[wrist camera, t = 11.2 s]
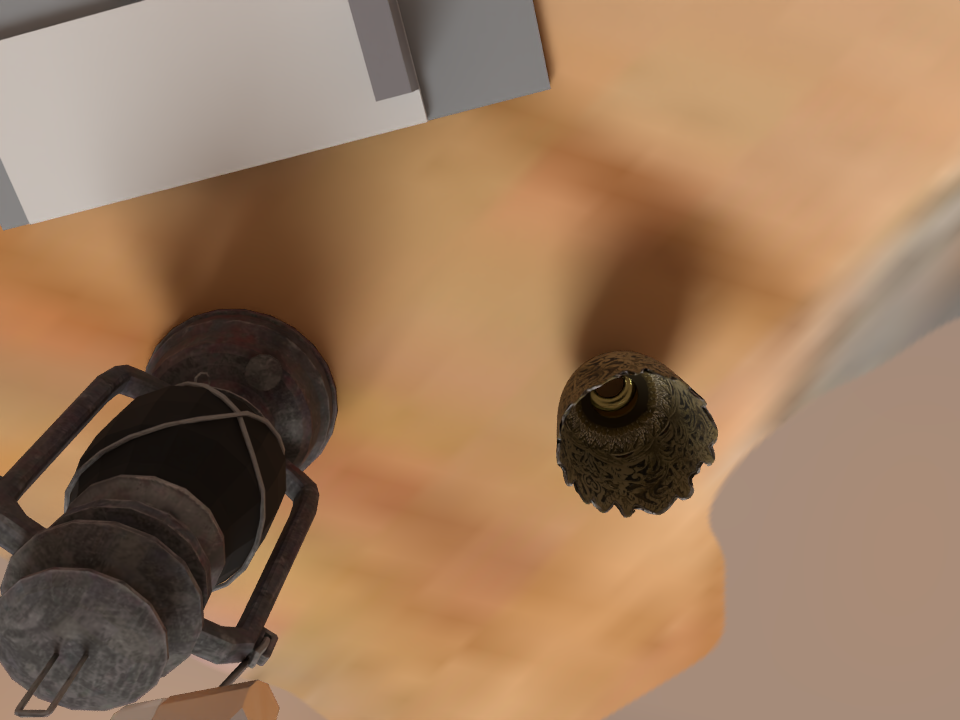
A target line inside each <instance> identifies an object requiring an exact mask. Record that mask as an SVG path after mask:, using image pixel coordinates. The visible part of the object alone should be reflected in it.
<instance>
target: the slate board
mask: <svg viewBox="0 0 960 720" xmlns="http://www.w3.org/2000/svg"><path fill="white" fill-rule="evenodd" d="M141 1H144V0H0V40H3V39H7V38H11V37H14V36H18V35H21V34H25V33H29V32H32V31H36V30H39V29H43V28H47V27H50V26H54V25H57V24H61V23H65V22H68V21H72V20H76V19H79V18H83V17H86V16H90V15H94V14H97V13H101V12H104V11H108V10H112V9H115V8H119V7H122V6H126V5H130V4H133V3H137V2H141ZM397 1H398V5H399V9H400V13H401V17H402V21H403V24H404V28H405V32H406V36H407V40H408V44H409V48H410V52H411V55H412V59H413V63H414V67H415V71H416V75H417V79H418V83H419V86H420V90H421V94H422V98H423V102H424V106H425V110H426V114H427V118H428V120H432V119H436V118H440V117H444V116H448V115H452V114H455V113H459V112H463V111H467V110H471V109H475V108H479V107H483V106H486V105H490V104H494V103H498V102H502V101H506V100H510V99H513V98H517V97H521V96H525V95H529V94H533V93H537V92H541V91H544V90H548V89H551V88H550V83H549V79H548V74H547V69H546V64H545V59H544V54H543V49H542V44H541V39H540V34H539V29H538V24H537V20H536V15H535V10H534V5H533V0H397ZM26 224H30V223H29V221H28V219H27V217H26V214H25V212H24V210H23V208H22V205H21V203H20V201H19V199H18V196H17V194H16V192H15V190H14V188H13V185H12V183H11V181H10V179H9V176H8V174H7V172H6V170H5V167H4V165H3V163H2V161H1V158H0V225H1V227H2V229H3V230H7V229H11V228H15V227H19V226H22V225H26Z"/></svg>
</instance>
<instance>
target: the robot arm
mask: <svg viewBox="0 0 960 720" xmlns="http://www.w3.org/2000/svg"><path fill="white" fill-rule="evenodd" d="M279 709H280V707H279V705H278V703H277V701H276V699H275V697H274V695H273V693H272V690H271V688H270V686H269V684H267V683H265V682H262V681H260V680H254V681H248V682H244V683H238V684H232V685H227V686H222V687H217V688H211V689H206V690H201V691H195V692H190V693H185V694H179V695H174V696H170V697H169V698H161V699H156V700H151V701H146V702H141V703H136V704H131V705H126V706H125V707H123V708H122V709H120V710H119V711H117V712H116V713H114V714H113V716H112V717H111V719H110V720H276V719H277V716H278V713H279Z"/></svg>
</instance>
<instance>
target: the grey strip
mask: <svg viewBox="0 0 960 720" xmlns="http://www.w3.org/2000/svg"><path fill="white" fill-rule="evenodd" d="M425 122H428V118H427V114H426V110H425V106H424V102H423V98H422V94H421V90H420V86H419V83H418V79H417V75H416V71H415V67H414V63H413V59H412V55H411V52H410V48H409V44H408V40H407V36H406V32H405V28H404V24H403V21H402V17H401V13H400V9H399V5H398V1H397V0H144V1H141V2H137V3H133V4H130V5H126V6H122V7H119V8H115V9H112V10H108V11H104V12H101V13H97V14H94V15H90V16H86V17H83V18H79V19H76V20H72V21H68V22H65V23H61V24H57V25H54V26H50V27H47V28H43V29H39V30H36V31H32V32H29V33H25V34H21V35H18V36H14V37H11V38H7V39H3V40H0V158H1V161H2V163H3V165H4V167H5V170H6V172H7V174H8V176H9V179H10V181H11V183H12V185H13V188H14V190H15V192H16V194H17V196H18V199H19V201H20V203H21V205H22V208H23V210H24V212H25V214H26V217H27V219H28V221H29V223H30V224H34V223H38V222H42V221H46V220H50V219H54V218H57V217H61V216H65V215H69V214H73V213H77V212H81V211H85V210H88V209H92V208H96V207H100V206H104V205H108V204H112V203H116V202H119V201H123V200H127V199H131V198H135V197H139V196H143V195H146V194H150V193H154V192H158V191H162V190H166V189H170V188H174V187H177V186H181V185H185V184H189V183H193V182H197V181H201V180H204V179H208V178H212V177H216V176H220V175H224V174H228V173H232V172H235V171H239V170H243V169H247V168H251V167H255V166H259V165H263V164H266V163H270V162H274V161H278V160H282V159H286V158H290V157H293V156H297V155H301V154H305V153H309V152H313V151H317V150H321V149H324V148H328V147H332V146H336V145H340V144H344V143H348V142H351V141H355V140H359V139H363V138H367V137H371V136H375V135H379V134H382V133H386V132H390V131H394V130H398V129H402V128H406V127H409V126H413V125H417V124H421V123H425Z"/></svg>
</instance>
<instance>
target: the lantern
mask: <svg viewBox="0 0 960 720" xmlns="http://www.w3.org/2000/svg"><path fill="white" fill-rule="evenodd" d="M117 394H122V395H125V396H128V397H131V398H134V400H133V401H132V402H131V403H130V404H129V405H128V406H127V407H126V408H125V409H123V410H122V411H121V412H120V413H119V414H118V415H117V416H116V417H115V418H114V419H113V420H112V421H111V422H110V423H109V424H108V425H107V426H106V427H105V428H104V429H103V430H102V431H101V432H100V433H99V434H98V435H97V436H96V437H95V438H94V440H93V441H92V443H91V444H90V446H89V447H88V449H87V450H86V451H85V453H84V454H83V456H82V457H81V459H80V461H79V464H78V467H77V469H76V472H75V474H74V476H73V478H72V480H71V482H70V484H69V485H68V487H67V489H66V491H65V503H64V514H63V515H62V516H61V517H60V518H59V519H58V520H56V521H55V522H54V523H53V524H52V525H51V526H50V527H49V528H47V529H46V528H44V527H43V526H41V525H40V524H38V523H37V522H35V521H34V520H32V519H31V518H29V517H28V516H27V515H26V514H25V513H24V511H23V510H22V508H21V507H20V506H19V504H18V503H17V501H18V500H19V499H20V497H21V496H22V495H23V494H24V493H25V492H26V491H27V489H28V488H29V487H30V486H31V485H32V484H33V483H34V482H35V481H36V480H37V479H38V477H39V476H40V475H41V474H42V473H43V472H44V471H45V470H46V469H47V468H48V466H49V465H50V464H51V463H52V462H53V461H54V460H55V459H56V458H57V457H58V456H59V454H60V453H61V452H62V451H63V450H64V449H65V448H66V447H67V446H68V445H69V444H70V442H71V441H72V440H73V439H74V438H75V437H76V436H77V435H78V434H79V433H80V432H81V430H82V429H83V428H84V427H85V426H86V425H87V424H88V423H89V422H90V421H91V420H92V418H93V417H94V416H95V415H96V414H97V413H98V412H99V411H100V410H101V409H102V408H103V406H104V405H105V404H106V403H107V402H108V401H110V400H111V399H112V398H113V397H114V396H116V395H117ZM337 411H338V410H337V395H336V387H335V384H334V381H333V378H332V375H331V373H330V370H329V367H328V365H327V363H326V362H325V361H324V359H323V358H322V356H321V355H320V353H319V352H318V350H317V349H316V348H315V346H314V345H313V344H312V343H311V342H310V341H309V340H307V339H306V338H305V337H304V336H303V335H302V334H301V333H299V332H298V331H297V330H296V329H295V328H293V327H292V326H290V325H288V324H286V323H284V322H282V321H280V320H278V319H276V318H274V317H272V316H270V315H266V314H262V313H258V312H254V311H250V310H246V309H218V310H214V311H211V312H207V313H203V314H199V315H196V316H193V317H191V318H190V319H188V320H186V321H185V322H183V323H181V324H180V325H178V326H176V327H175V328H173V329H172V330H171V331H170V332H169V333H168V334H167V335H166V337H165V338H164V339H163V340H162V341H161V342H160V343H159V344H158V345H157V346H156V348H155V350H154V352H153V354H152V356H151V359H150V361H149V363H148V365H147V367H146V371H145V372H144V371H142V370H139V369H137V368H134V367H132V366H129V365H121V366H114V367H113V368H111V369H109V370H108V371H106V372H104V373H103V374H101V375H99V376H97V377H96V379H95V380H94V381H93V382H92V383H91V384H90V385H89V386H88V387H87V388H86V389H85V390H84V391H83V392H82V393H81V394H80V396H79V397H78V398H77V399H76V400H75V401H74V402H73V403H72V404H71V405H70V406H69V407H68V408H67V409H66V410H65V411H64V413H63V414H62V415H61V416H60V417H59V418H58V419H57V420H56V421H55V422H54V423H53V424H52V425H51V426H50V427H49V428H48V430H47V431H46V432H45V433H44V434H43V435H42V436H41V437H40V438H39V439H38V440H37V441H36V442H35V443H34V444H33V445H32V447H31V448H30V449H29V450H28V451H27V452H26V453H25V454H24V455H23V456H22V457H21V458H20V459H19V460H18V461H17V462H16V464H15V465H14V466H13V467H12V468H11V469H10V470H9V471H8V472H7V473H6V474H5V475H4V476H3V477H2V476H0V547H2V548H3V549H5V550H6V551H8V552H9V553H11V554H12V557H11V558H10V561H9V564H8V567H7V569H6V572H5V575H4V578H3V581H2V584H1V587H0V589H1V595H2V596H1V597H0V663H1V664H2V666H3V667H4V668H5V670H6V671H7V673H8V674H9V676H10V677H11V679H12V680H14V681H15V682H17V683H18V684H19V685H21V686H22V687H24V688H25V689H26V690H28V692H27V693H26V694H25V696H24V697H23V699H22V700H21V702H20V703H19V704H18V706H17V707H16V709H15V715H17V716H19V717H48V716H49V715H50V714H52V713H53V711H54V710H55V708H56V707H57V705H59V706H62V707H65V708H68V709H71V710H93V711H107V710H110V709H114V708H117V707H121V706H124V705H127V704H131V703H134V702H136V701H137V700H138V699H140V698H141V697H142V696H143V695H145V694H146V693H147V692H148V691H150V690H151V689H152V688H153V687H154V686H155V685H157V683H158V681H159V679H160V678H161V677H165V676H166V675H167V674H168V673H169V672H171V671H172V670H173V669H174V668H176V667H177V666H178V665H179V664H181V663H182V662H183V661H184V660H186V659H187V658H188V657H189V656H190V654H193V655H196V656H198V657H200V658H203V659H205V660H207V661H210V662H212V663H215V664H227V663H239V662H241V663H240V664H239V665H238V667H237V668H236V669H235V670H234V671H233V672H232V673H231V674H230V675H229V676H228V677H227V678H226V680H225V681H224V682H223V683H222V684H221V685H220V686H219V687H222V686H227V685H232V683H233V682H234V681H235V680H236V679H237V678H238V677H239V676H240V675H241V674H242V672H243V671H244V670H245V669H246V668H247V667H250V668H253V667H255V665H256V664H258V665H259V666H263V665H264V664H265V663H266V661H267V660H268V659H269V658H270V656H271V654H272V651H273V649H274V647H275V645H276V642H277V640H278V637H277V635H276V634H274V633H273V632H271V631H269V630H268V629H266V628H264V625H265V623H266V621H267V618H268V616H269V614H270V612H271V610H272V608H273V605H274V603H275V601H276V599H277V597H278V595H279V593H280V590H281V588H282V586H283V584H284V582H285V580H286V577H287V575H288V573H289V571H290V569H291V567H292V564H293V562H294V560H295V558H296V556H297V554H298V551H299V549H300V547H301V545H302V543H303V541H304V538H305V536H306V534H307V532H308V530H309V528H310V525H311V523H312V521H313V519H314V517H315V515H316V511H317V505H318V500H319V492H318V489H317V485H316V484H315V483H314V482H313V481H312V480H311V479H310V478H309V477H308V476H307V475H306V474H305V473H304V472H303V471H304V470H305V469H306V468H307V467H308V466H309V465H310V464H311V463H312V462H313V461H314V460H315V459H316V458H317V457H318V456H319V455H320V454H321V453H322V451H323V449H324V448H325V446H326V444H327V442H328V441H329V439H330V437H331V435H332V433H333V429H334V425H335V420H336V416H337ZM284 494H286V495H287V496H288V497H289V498H290V499H291V500H292V501H293V507H292V510H291V513H290V516H289V518H288V520H287V522H286V524H285V526H284V528H283V531H282V533H281V535H280V537H279V539H278V541H277V543H276V545H275V547H274V549H273V551H272V554H271V556H270V558H269V560H268V562H267V564H266V566H265V568H264V570H263V572H262V574H261V577H260V579H259V581H258V583H257V585H256V587H255V589H254V591H253V593H252V595H251V597H250V600H249V602H248V604H247V606H246V608H245V610H244V612H243V614H242V616H241V618H240V620H239V622H238V624H237V626H236V627H225V626H220V625H218V624H216V623H213V622H211V621H209V620H207V619H205V618H204V613H203V610H204V608H205V606H206V603H207V601H208V599H209V597H210V595H211V592H213V591H216V590H219V589H221V588H224V587H227V586H228V585H229V584H231V583H232V582H233V581H234V580H235V579H236V578H237V577H238V576H239V575H240V574H242V573H243V572H244V571H245V570H246V569H247V567H248V565H249V563H250V562H251V560H252V558H253V556H254V554H255V552H256V551H257V549H258V548H259V546H260V545H261V543H262V542H263V540H264V539H265V537H266V535H267V533H268V530H269V528H270V526H271V524H272V522H273V520H274V517H275V515H276V513H277V511H278V509H279V506H280V504H281V502H282V499H283V497H284ZM234 573H235V574H234ZM233 574H234V575H233ZM232 575H233V576H232ZM228 578H229V579H228ZM227 579H228V580H227ZM226 580H227V581H226ZM224 581H226V582H224ZM222 582H224V583H222ZM220 583H222V584H220ZM218 584H219V585H218ZM216 585H217V586H216ZM32 695H35V696H36V697H37V698H39V699H41V700H44V701H47V702H50V703H51V704H50V706H49V708H48V709H47V710H23V709H24V707H25V706H26V704H27V702H28V701H29V700H30V698H31V697H32Z"/></svg>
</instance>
